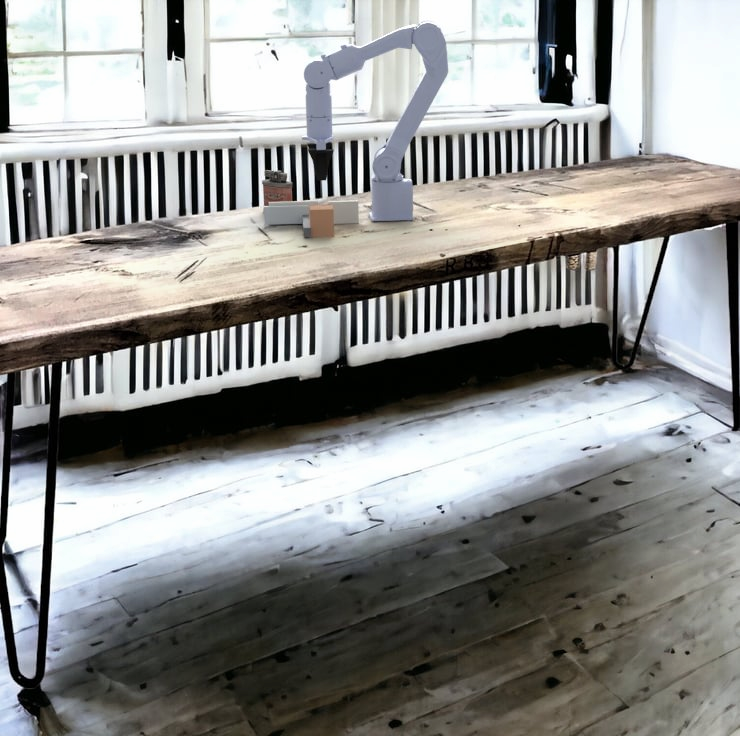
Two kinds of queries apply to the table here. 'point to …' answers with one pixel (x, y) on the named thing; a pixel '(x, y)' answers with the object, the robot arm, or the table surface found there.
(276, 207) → the sliding door
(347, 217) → the white thin slab
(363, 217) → the table surface
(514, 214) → the table surface
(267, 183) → the lighter
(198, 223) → the table surface
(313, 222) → the block
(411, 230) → the table surface
